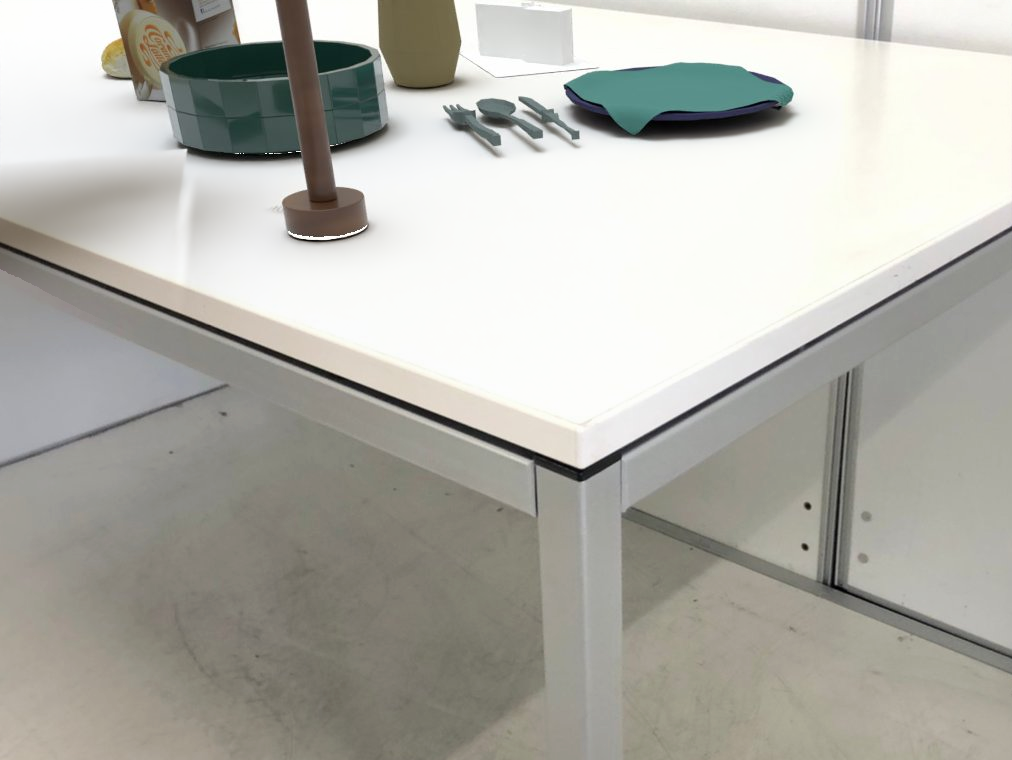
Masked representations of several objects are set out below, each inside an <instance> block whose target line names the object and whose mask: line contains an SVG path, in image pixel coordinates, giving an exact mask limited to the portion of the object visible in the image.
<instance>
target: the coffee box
mask: <svg viewBox="0 0 1012 760" xmlns="http://www.w3.org/2000/svg"><path fill="white" fill-rule="evenodd" d="M111 1H112V2H111V3H112V5H113V10H114V13H115V17H116V21H117V25H118V29H119V30H118V31H119V33H120V38H122V41H123V46H124V50H125V54H126V58H127V61H128V65H129V69H130V73H131V77H132V78H131V82H132V85H133V88H134V89H133V90H134V93H135V97H136V99H137V101H138V100H139V101H143V100H144V101H157V102H158V101H160V102H166V99H165V95H164V90H163V86H162V81H161V77H160V73H159V69H160V66H161V63H163V62H165V61H167V60H169V59H171V58H173V57H175V56H179V55H182V54H186V53H189V52H193V51H197V50H202V49H208V48H213V47H219V46H225V45H233V44H242V42H241V37H240V33H239V27H238V23H237V17H236V13H235V12H236V11H235V6H234V3H233V2H234V1H233V0H111Z"/></svg>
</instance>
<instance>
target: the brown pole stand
mask: <svg viewBox="0 0 1012 760" xmlns="http://www.w3.org/2000/svg"><path fill="white" fill-rule="evenodd" d="M274 1H275V6H276V12H277V13H276V14H277V19H278V24H279V30H280V31H279V32H280V36H281V37H280V38H281V40H282V43H283V49H284V55H285V61H286V67H287V73H288V78H289V84H290V90H291V96H292V102H293V108H294V114H295V120H296V126H297V132H298V138H299V144H300V149H301V152H300V154H301V160H302V161H301V162H302V167H303V173H304V179H305V184H306V189H304V190H299V191H296V192H293V193H291V194H288V195H287V196H286V197H284V198H283V199H282V200H281V206H282V211H283V217H284V223H285V228H286V231H287V230H288V231H290V232H291V233H293V234H297V235H302V236H309V237H310V236H313V237H324V236H340V235H345V234H347V233H351V232H355V231H357V230H360V229H362V228H363V227H365V226H366V225H367V224H368V225H369V220H368V212H367V206H366V205H367V204H366V198H365V194H364V193H363V192H362V191H360V190H358V189H356V188H352V187H345V186H337V185H336V178H335V173H334V172H335V171H334V166H333V159H332V153H331V152H332V151H331V147H330V146H329V139H328V133H327V126H326V120H325V113H324V107H323V101H322V94H321V88H320V81H319V75H318V68H317V62H316V55H315V49H314V43H313V40H314V36H313V31H312V23H311V16H310V10H309V5H308V0H274Z"/></svg>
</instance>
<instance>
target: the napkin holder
mask: <svg viewBox="0 0 1012 760" xmlns="http://www.w3.org/2000/svg"><path fill="white" fill-rule="evenodd" d="M474 6H475V18H476V19H475V20H476V31H477V42H478V50H474V51H473V50H471V51H460V52H459V55H461V56H462V57H464V58H466V59H467V60H469V61H470V62H472V63H474V65H476V66H478V67H480V68H481V69H483V70H484V71H486V72H487V73H489V74H490V75H492V76H494V77H495V78H505V77H514V76H515V77H516V76H525V75H535V74H546V73H556V72H557V73H558V72H568V71H575V70H576V71H577V70H587V69H597V68H600V67H599V66H597V65H595V64H593V63H591V62H588V61H587V60H586V59H583V58H580V57H578V56H577V55H575V53H574V32H573V31H574V30H573V8H571V7H557V6H545V5H544V6H542V4H541V3H535V2H534V1H522V2H514V1H500V0H499V1H498V0H485V1H480V2H476V3H475V4H474Z"/></svg>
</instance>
